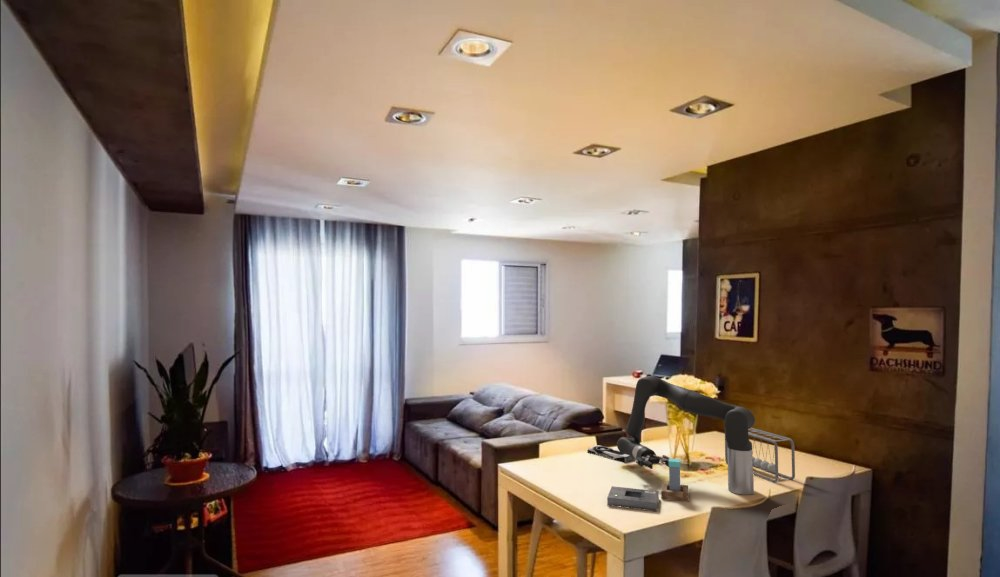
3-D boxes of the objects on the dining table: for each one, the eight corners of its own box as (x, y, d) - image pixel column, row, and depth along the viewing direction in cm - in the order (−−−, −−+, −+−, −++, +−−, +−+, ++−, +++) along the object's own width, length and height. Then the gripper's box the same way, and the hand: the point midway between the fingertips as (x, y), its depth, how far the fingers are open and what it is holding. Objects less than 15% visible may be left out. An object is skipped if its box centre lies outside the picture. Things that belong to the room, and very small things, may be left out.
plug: (680, 494, 214) (680, 459, 214) (680, 498, 209) (680, 462, 210) (669, 493, 215) (668, 458, 215) (669, 497, 211) (668, 461, 211)
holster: (688, 492, 215) (688, 485, 215) (688, 501, 206) (688, 493, 206) (662, 490, 219) (662, 482, 219) (661, 498, 209) (661, 491, 209)
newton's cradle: (724, 464, 254) (724, 426, 254) (742, 461, 257) (741, 424, 258) (777, 484, 225) (776, 441, 226) (795, 481, 229) (794, 439, 229)
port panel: (658, 498, 209) (658, 490, 209) (656, 511, 197) (656, 502, 197) (611, 493, 215) (611, 485, 215) (607, 505, 203) (607, 496, 203)
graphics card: (626, 457, 256) (586, 446, 275) (626, 464, 256) (586, 453, 275) (639, 453, 262) (599, 443, 282) (639, 460, 262) (599, 449, 281)
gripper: (628, 447, 238) (645, 457, 222) (658, 445, 241) (677, 455, 225) (629, 464, 238) (645, 476, 222) (658, 462, 240) (677, 473, 224)
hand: (661, 465), depth 223 cm, fingers open, 8 cm apart
